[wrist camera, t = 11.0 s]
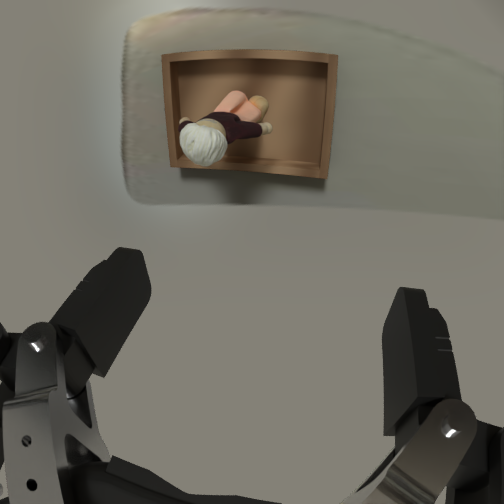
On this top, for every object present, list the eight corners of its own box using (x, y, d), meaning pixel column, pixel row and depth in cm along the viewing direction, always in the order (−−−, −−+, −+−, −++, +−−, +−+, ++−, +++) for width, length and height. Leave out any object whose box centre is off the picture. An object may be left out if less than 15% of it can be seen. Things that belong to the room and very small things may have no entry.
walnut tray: (336, 54, 25) (338, 55, 23) (326, 169, 32) (327, 179, 30) (172, 53, 27) (161, 54, 25) (179, 158, 34) (170, 167, 32)
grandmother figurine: (276, 84, 27) (249, 110, 17) (281, 122, 29) (259, 171, 19) (199, 95, 29) (135, 130, 19) (206, 130, 31) (150, 181, 21)
